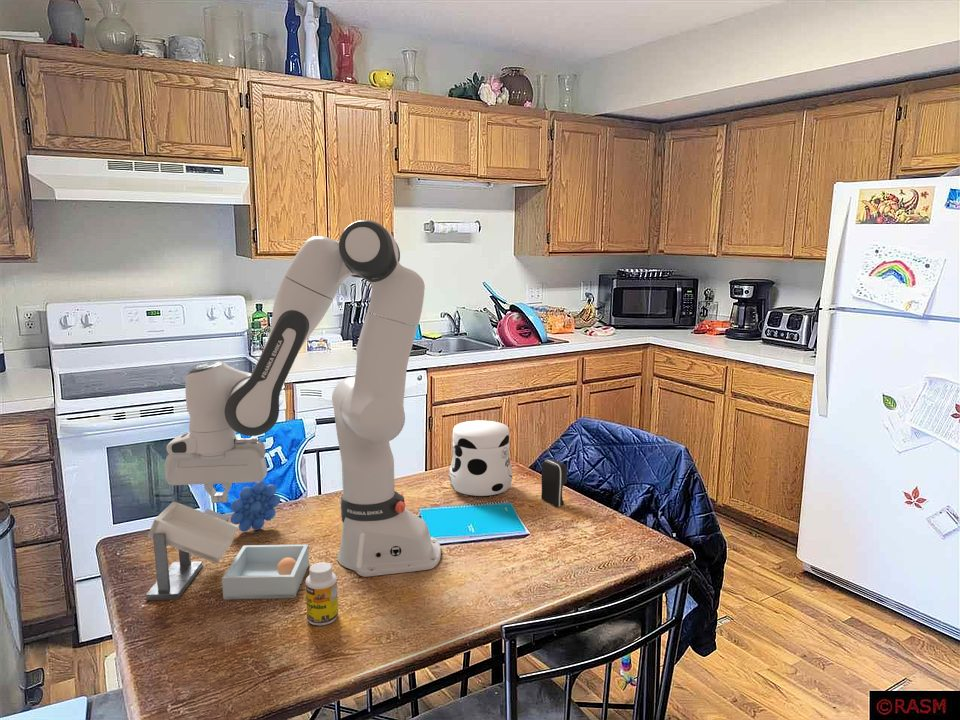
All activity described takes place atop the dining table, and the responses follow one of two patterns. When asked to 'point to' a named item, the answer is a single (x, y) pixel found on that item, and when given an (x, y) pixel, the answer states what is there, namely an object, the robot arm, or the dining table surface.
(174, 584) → the trough stand
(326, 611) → the supplement bottle
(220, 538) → the tipping trough
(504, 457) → the spotted cookie jar
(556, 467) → the battery charger
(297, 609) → the dining table surface
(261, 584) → the pale blue tray
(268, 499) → the grapes
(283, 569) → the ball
